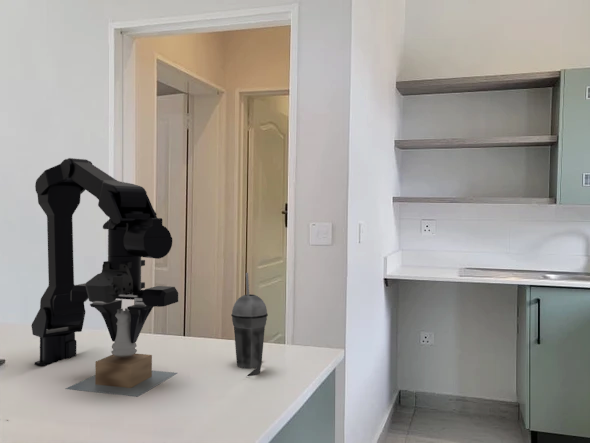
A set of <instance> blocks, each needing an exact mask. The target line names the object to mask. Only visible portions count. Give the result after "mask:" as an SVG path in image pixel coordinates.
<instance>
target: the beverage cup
mask: <svg viewBox="0 0 590 443" xmlns="http://www.w3.org/2000/svg"><path fill="white" fill-rule="evenodd" d="M245 285H246V286H245V287H246V288H245V289H246V294H244V295H242V296H240V297H239V298H238V299H237V300H236V301H235V302H234V304H233V306H232V312H231V317H232V318H231V321H232V325H233V332H234V344H235V358H236V360H235V361H236V366H237V367H238V368H241V369H245V370H246V369H254V370H252V371H250V372H249V373H248V374H247V375H246V377H251V376H257V375H260V374H261V370H262V362H263V361H262V360H263V351H264V339H265V330H266V329H265V328H266V325H267V320H268V319H267V318H268V310H267V305H266V303H265V302H264V300H263V299H262V298H261V297H260V296H258V295H256V294H250V284H249V272H245Z"/></svg>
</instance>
